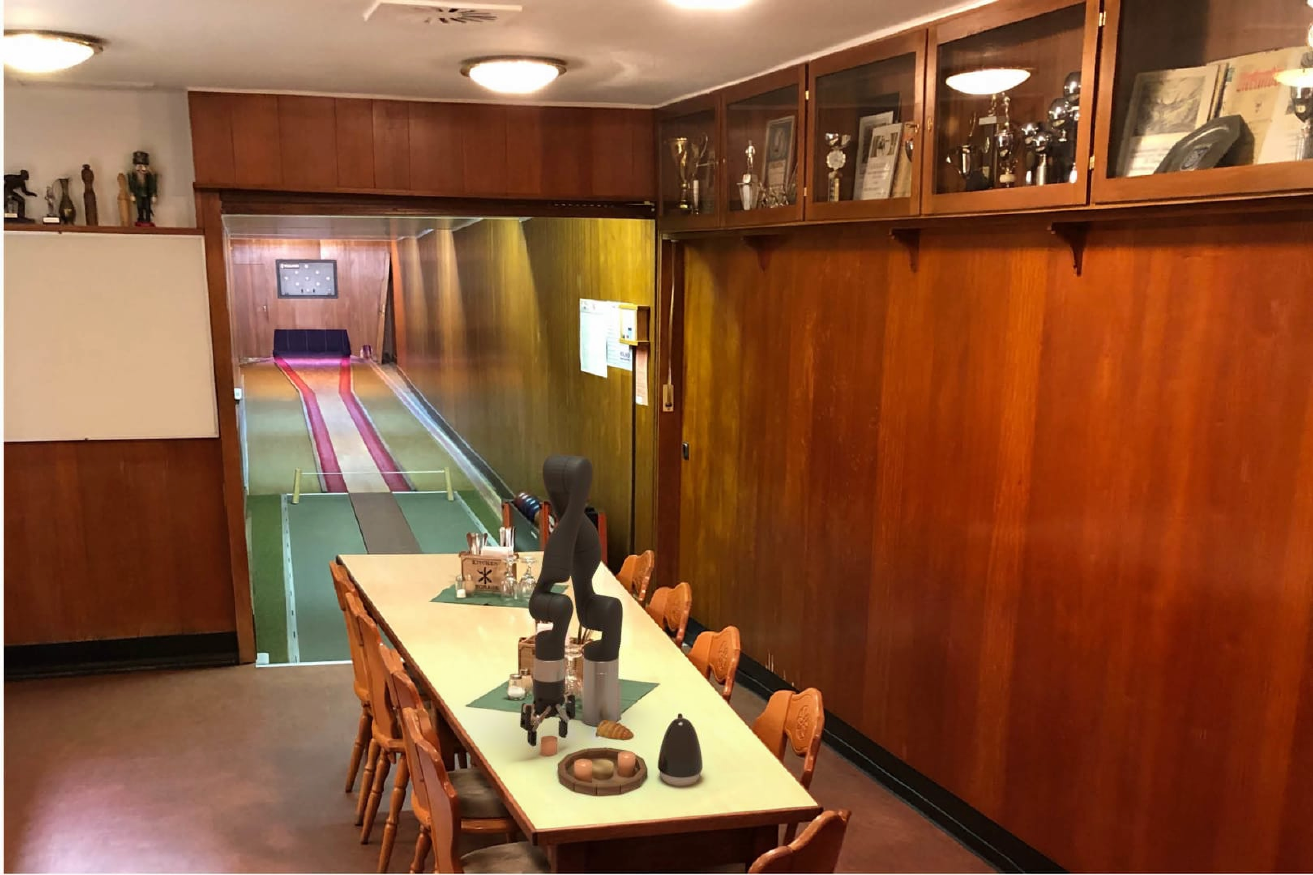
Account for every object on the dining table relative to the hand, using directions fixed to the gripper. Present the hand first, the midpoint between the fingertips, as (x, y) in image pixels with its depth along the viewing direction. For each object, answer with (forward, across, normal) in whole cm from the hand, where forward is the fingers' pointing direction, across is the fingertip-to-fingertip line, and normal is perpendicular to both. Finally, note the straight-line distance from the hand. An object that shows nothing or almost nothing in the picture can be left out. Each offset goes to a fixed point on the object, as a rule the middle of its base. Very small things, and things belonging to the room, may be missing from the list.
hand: (547, 740), depth 246 cm
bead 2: (+3, -2, -17) cm, 17 cm away
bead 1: (+4, +1, 0) cm, 4 cm away
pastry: (+4, +20, 0) cm, 20 cm away
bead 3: (+3, +8, -20) cm, 21 cm away
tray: (+4, +4, -17) cm, 18 cm away
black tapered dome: (+4, +17, -29) cm, 33 cm away
